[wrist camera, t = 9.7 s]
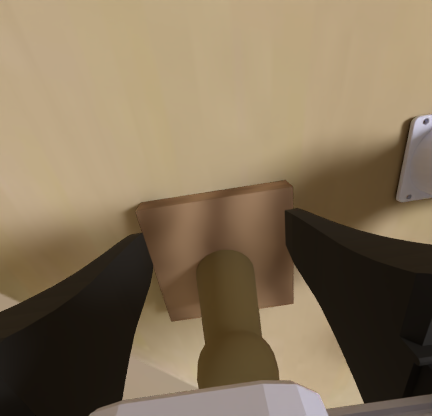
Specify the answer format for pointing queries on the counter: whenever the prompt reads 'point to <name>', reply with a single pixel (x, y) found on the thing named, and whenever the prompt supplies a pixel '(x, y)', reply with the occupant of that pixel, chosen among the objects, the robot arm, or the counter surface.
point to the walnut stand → (219, 241)
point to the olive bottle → (231, 323)
